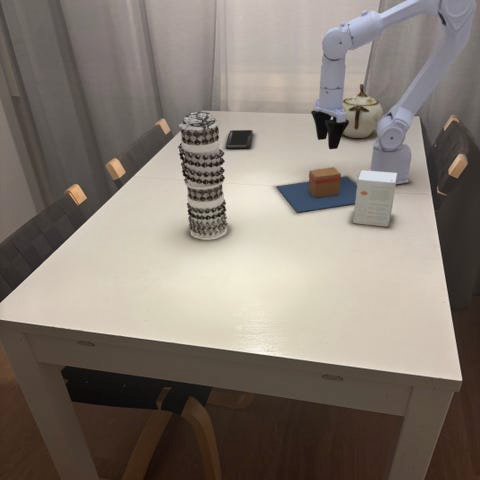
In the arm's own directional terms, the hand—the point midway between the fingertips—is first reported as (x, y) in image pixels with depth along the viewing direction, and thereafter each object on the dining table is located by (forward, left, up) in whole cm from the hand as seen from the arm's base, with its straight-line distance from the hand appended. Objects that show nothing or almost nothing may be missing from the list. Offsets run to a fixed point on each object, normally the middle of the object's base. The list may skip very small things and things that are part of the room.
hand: (327, 143), depth 122 cm
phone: (+14, -38, -9) cm, 42 cm away
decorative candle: (+36, +19, -10) cm, 42 cm away
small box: (-1, +26, -10) cm, 28 cm away
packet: (+4, +9, -9) cm, 13 cm away
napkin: (+4, +9, -9) cm, 14 cm away
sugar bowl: (-24, -31, -10) cm, 40 cm away
